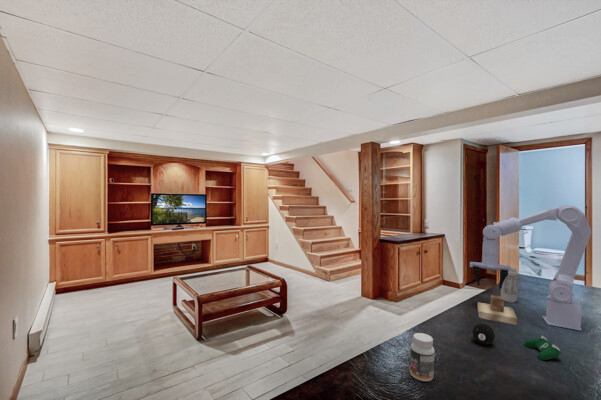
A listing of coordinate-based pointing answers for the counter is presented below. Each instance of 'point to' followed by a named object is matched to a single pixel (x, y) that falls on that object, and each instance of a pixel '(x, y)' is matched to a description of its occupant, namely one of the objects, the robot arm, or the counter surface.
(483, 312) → the birch base
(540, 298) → the counter surface
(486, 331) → the billiard ball
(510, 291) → the energy drink can
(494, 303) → the walnut block
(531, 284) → the counter surface
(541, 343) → the gaming controller
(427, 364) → the pill bottle
